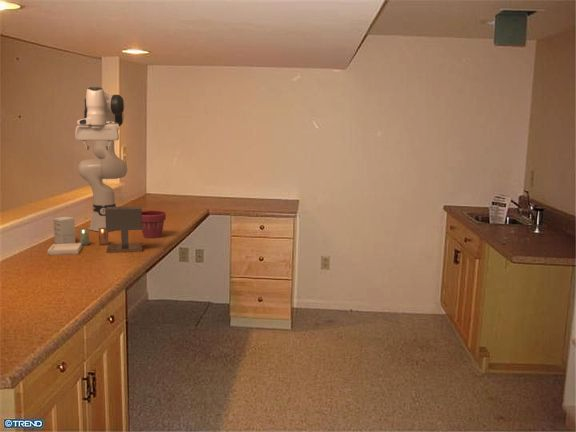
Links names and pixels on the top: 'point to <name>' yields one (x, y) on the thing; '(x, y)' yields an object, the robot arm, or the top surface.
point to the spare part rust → (103, 236)
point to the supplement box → (64, 230)
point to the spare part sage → (84, 236)
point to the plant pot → (153, 223)
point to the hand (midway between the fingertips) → (97, 149)
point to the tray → (65, 249)
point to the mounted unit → (124, 226)
